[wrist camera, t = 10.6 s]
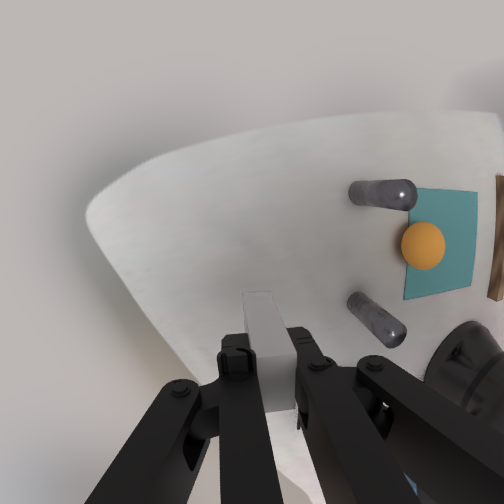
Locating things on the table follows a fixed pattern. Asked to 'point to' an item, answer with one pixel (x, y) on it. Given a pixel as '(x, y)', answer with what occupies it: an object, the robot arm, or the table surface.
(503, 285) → the brown wooden bar
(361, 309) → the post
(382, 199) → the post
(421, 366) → the table surface
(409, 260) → the ball
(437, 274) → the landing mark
